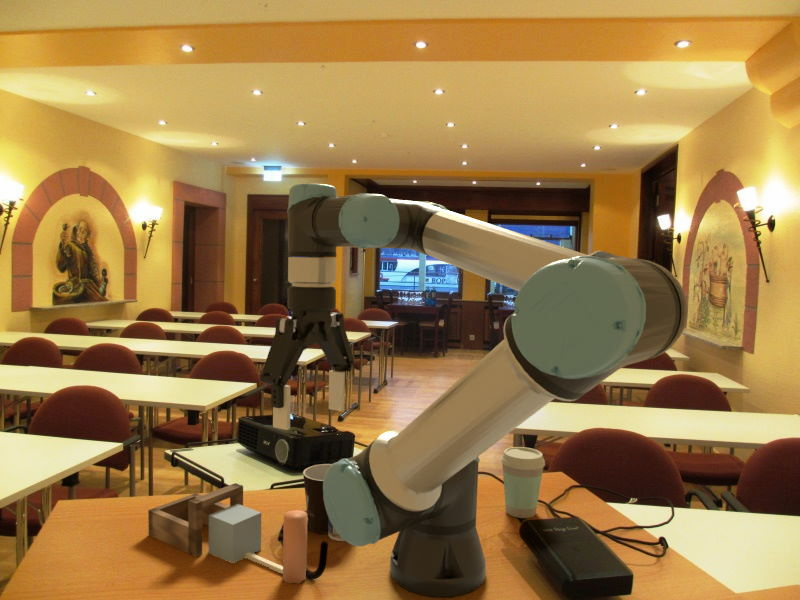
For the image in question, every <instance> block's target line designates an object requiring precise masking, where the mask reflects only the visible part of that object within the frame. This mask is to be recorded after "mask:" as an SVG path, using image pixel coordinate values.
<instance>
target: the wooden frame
mask: <svg viewBox="0 0 800 600" xmlns="http://www.w3.org/2000/svg"><path fill="white" fill-rule="evenodd" d="M227 499H229V505H228V504H226V503H223V502H222V501H225V500H227ZM235 504H240V505H242V506H244V485H242V484H239V483H232V484H229V485H227V486H224V487H222V488H219V489H216V490H213V491H211V492H208V493H205V494H199V493H197V492H196V493H192V494H190V495H186V496H185V497H184V496H183V497H181V498H177V499H175V500H173V501H171V502H168V503H165V504H161V505H159V506H156V507H154V508H151V509H148V517H147V518H148V519H147V520H148V536H150V537H152V538H153V539H156V540H158V541H160V542H163V543H165V544H167V545H169V546H171V547H173V548H176V549H178V550H180V551H182V552H185V553H186V554H189V555H191V556H193V555H194V556H193V557H195V556H197V557H199V556H201V554H202V555H203V525H206V526H207V527H209V515H210V514H213V513H215V512H218V511H220V510H223V509H225V508H228V507H230V506H233V505H235Z"/></svg>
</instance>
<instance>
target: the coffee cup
mask: <svg viewBox="0 0 800 600" xmlns="http://www.w3.org/2000/svg"><path fill="white" fill-rule="evenodd" d="M545 461H546V460H545V459H544V456H543V453H542V451H540V450H537V449H535V448H531V447H525V446H515V447H514V446H513V447H508V448H506V449H504V450H503V453H502V455H501V458H500V462H501V464H502V476H503V479H502V480H503V490H504V503H505V512H506V514H508V515H509V516H511V517H514V518H519V519H529V518H533V517H535V516H536V514H537V509H538V502H539V495H540V490H541V483H542V477H543V471H544V468H545V466H546V463H545Z"/></svg>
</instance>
